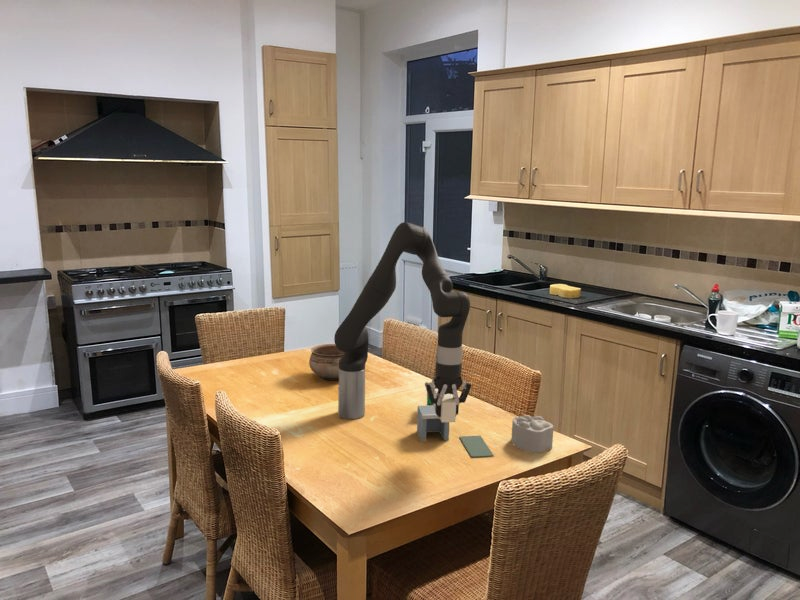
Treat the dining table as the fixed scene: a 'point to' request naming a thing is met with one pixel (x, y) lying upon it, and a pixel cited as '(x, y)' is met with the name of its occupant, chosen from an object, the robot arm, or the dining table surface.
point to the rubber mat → (476, 446)
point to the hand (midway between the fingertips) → (446, 415)
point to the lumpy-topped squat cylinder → (532, 434)
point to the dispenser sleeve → (430, 423)
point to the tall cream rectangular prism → (447, 407)
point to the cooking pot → (326, 361)
